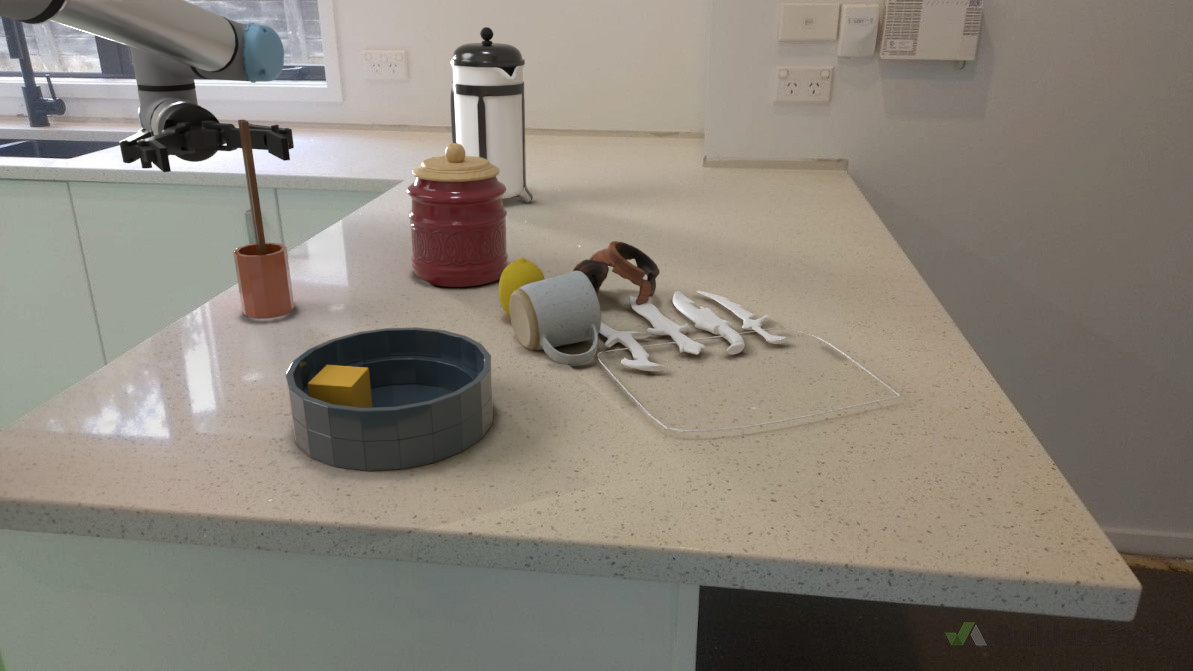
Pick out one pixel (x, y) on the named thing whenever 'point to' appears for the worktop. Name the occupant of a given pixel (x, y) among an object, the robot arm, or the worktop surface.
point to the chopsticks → (252, 186)
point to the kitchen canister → (457, 220)
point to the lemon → (517, 279)
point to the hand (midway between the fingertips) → (227, 154)
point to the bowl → (395, 399)
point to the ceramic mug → (557, 315)
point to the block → (342, 386)
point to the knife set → (703, 321)
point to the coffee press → (491, 108)
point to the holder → (264, 281)
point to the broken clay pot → (622, 268)
